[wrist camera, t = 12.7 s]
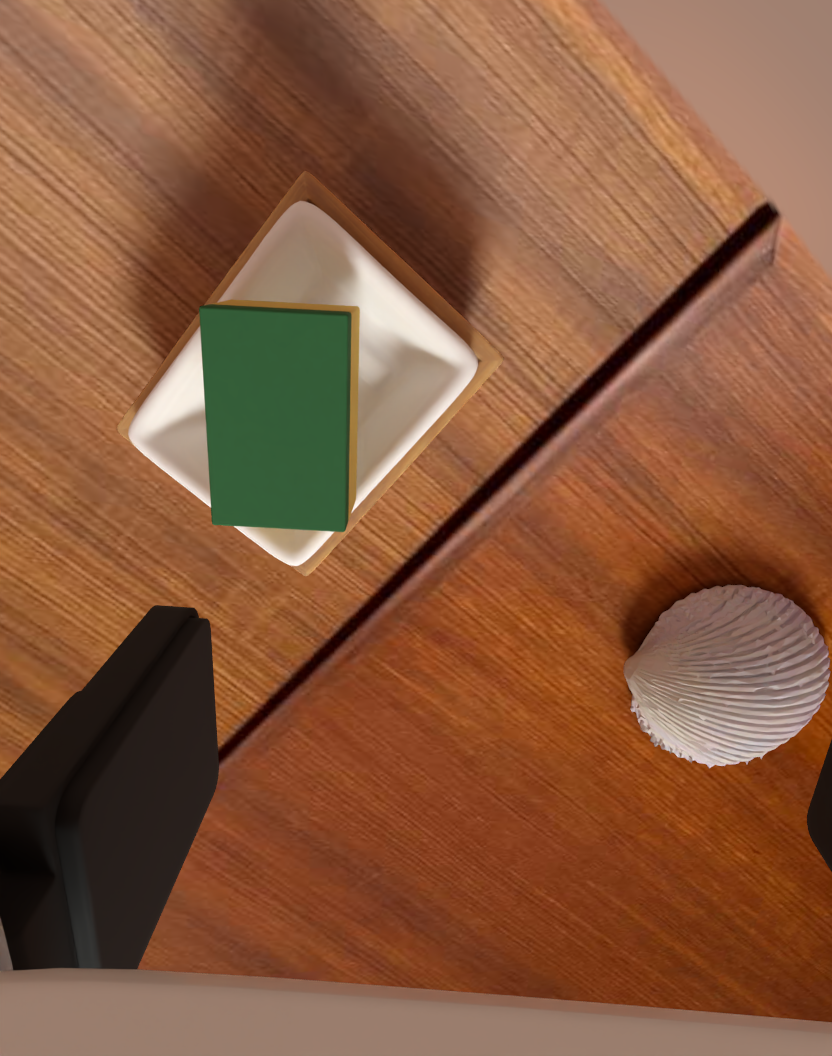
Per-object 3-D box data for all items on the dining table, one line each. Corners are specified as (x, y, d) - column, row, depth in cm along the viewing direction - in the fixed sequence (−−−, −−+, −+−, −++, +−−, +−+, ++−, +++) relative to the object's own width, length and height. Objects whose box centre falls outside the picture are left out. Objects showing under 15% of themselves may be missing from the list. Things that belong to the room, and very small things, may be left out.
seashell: (657, 591, 30) (906, 653, 29) (649, 550, 35) (860, 600, 34) (597, 780, 34) (815, 846, 32) (597, 718, 39) (786, 772, 37)
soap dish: (320, 177, 28) (296, 162, 23) (500, 346, 30) (512, 363, 25) (148, 411, 31) (96, 439, 27) (319, 546, 34) (300, 594, 29)
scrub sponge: (229, 298, 25) (198, 306, 21) (360, 306, 25) (347, 313, 21) (238, 493, 27) (211, 525, 24) (356, 499, 27) (345, 533, 24)
